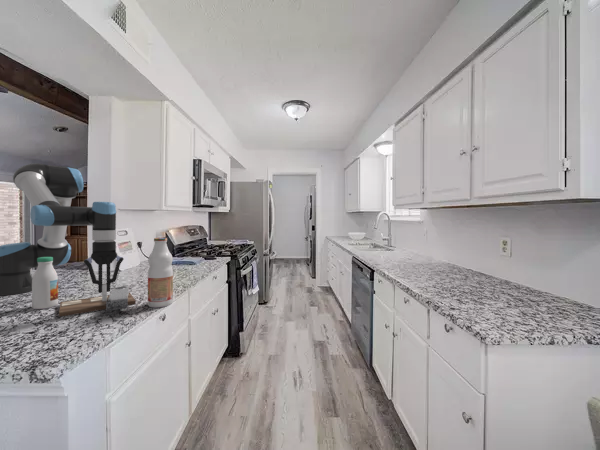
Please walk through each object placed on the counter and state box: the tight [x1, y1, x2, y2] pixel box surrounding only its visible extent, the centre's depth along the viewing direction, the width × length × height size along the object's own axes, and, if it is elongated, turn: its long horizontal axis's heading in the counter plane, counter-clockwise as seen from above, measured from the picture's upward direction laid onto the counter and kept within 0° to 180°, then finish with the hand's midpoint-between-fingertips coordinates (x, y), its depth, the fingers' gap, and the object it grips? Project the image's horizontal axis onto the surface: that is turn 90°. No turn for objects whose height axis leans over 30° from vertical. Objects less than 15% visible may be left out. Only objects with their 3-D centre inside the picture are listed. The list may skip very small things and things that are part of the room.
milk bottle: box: [31, 257, 59, 310], centre depth 108 cm, size 8×8×20 cm
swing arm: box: [105, 286, 130, 312], centre depth 110 cm, size 24×7×3 cm, turn 31°
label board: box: [58, 292, 137, 318], centre depth 112 cm, size 16×24×2 cm, turn 130°
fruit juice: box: [147, 237, 174, 309], centre depth 113 cm, size 9×9×28 cm
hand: (104, 300), depth 107 cm, fingers closed
